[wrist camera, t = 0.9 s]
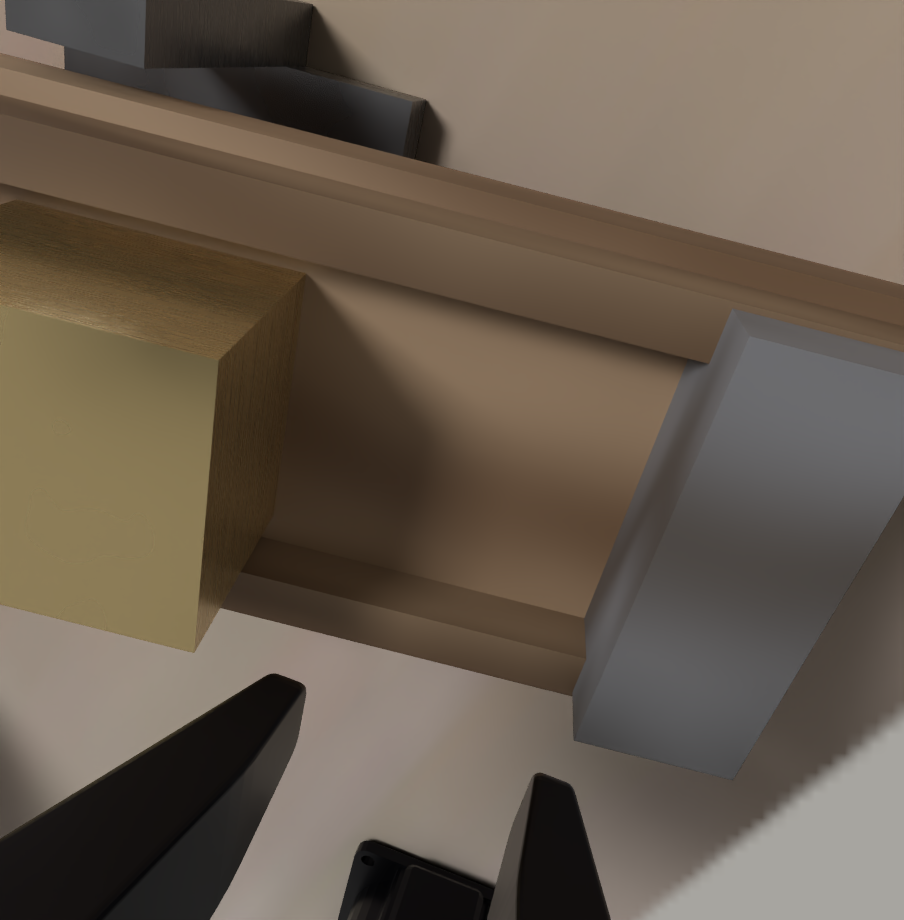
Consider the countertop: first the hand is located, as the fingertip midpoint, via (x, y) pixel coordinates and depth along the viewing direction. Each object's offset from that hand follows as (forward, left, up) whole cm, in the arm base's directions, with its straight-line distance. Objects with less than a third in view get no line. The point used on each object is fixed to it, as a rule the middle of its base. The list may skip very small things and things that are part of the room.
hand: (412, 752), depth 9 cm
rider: (0, +7, -6) cm, 9 cm away
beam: (0, +9, -7) cm, 11 cm away
